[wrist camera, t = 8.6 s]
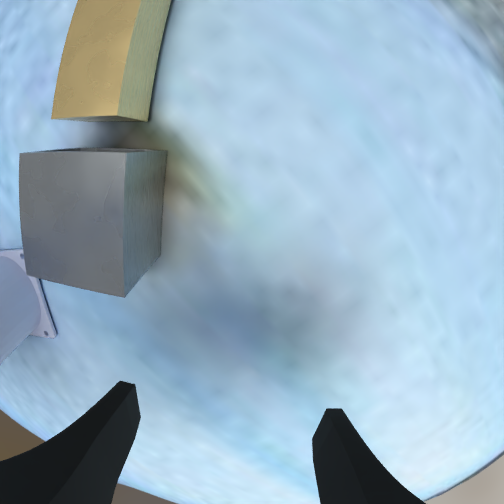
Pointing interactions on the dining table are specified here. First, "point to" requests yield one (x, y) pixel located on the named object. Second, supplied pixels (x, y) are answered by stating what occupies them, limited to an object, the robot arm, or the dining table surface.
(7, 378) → the dining table surface
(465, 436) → the dining table surface
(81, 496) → the robot arm
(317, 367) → the dining table surface
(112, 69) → the block
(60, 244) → the sleeve
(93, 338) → the dining table surface
